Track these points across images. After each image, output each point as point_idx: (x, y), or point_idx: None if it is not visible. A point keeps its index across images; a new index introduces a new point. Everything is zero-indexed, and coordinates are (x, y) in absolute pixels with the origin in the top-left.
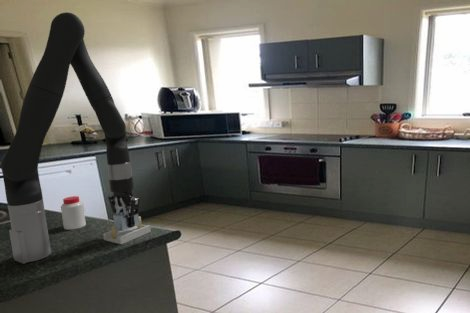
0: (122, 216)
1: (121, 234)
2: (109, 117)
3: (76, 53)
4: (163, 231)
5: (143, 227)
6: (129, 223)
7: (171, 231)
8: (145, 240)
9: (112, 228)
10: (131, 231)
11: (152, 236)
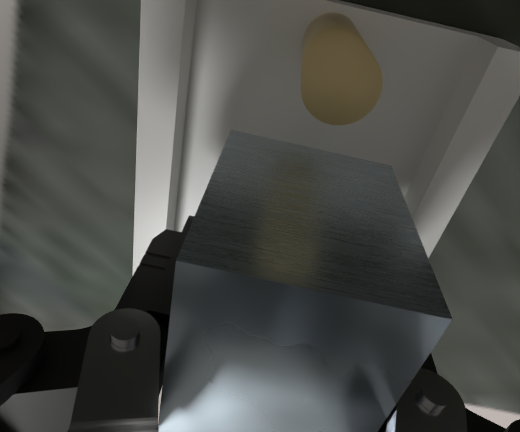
0: (178, 284)
1: None
2: None
3: None
4: (60, 307)
5: None
6: (175, 251)
7: (5, 312)
8: (19, 126)
9: (324, 43)
10: None
11: (48, 216)
